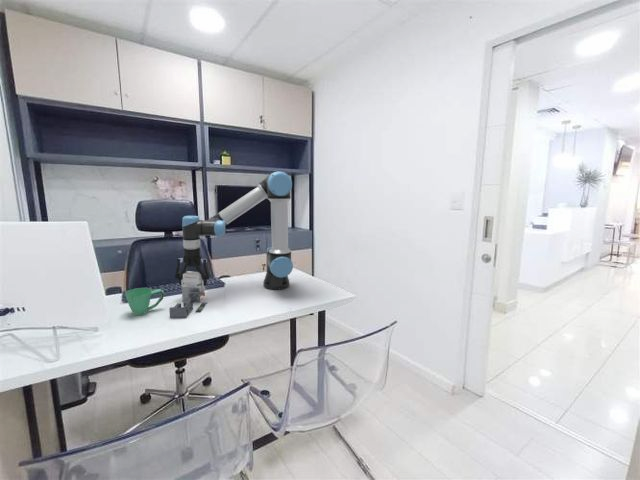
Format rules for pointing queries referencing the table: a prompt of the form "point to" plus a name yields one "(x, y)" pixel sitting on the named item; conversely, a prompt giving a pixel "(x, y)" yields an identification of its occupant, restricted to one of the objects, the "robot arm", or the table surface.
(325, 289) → the table surface
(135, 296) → the mug
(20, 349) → the table surface
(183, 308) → the gauge body
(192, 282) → the ink box
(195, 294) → the white branched bar piece
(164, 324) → the table surface
